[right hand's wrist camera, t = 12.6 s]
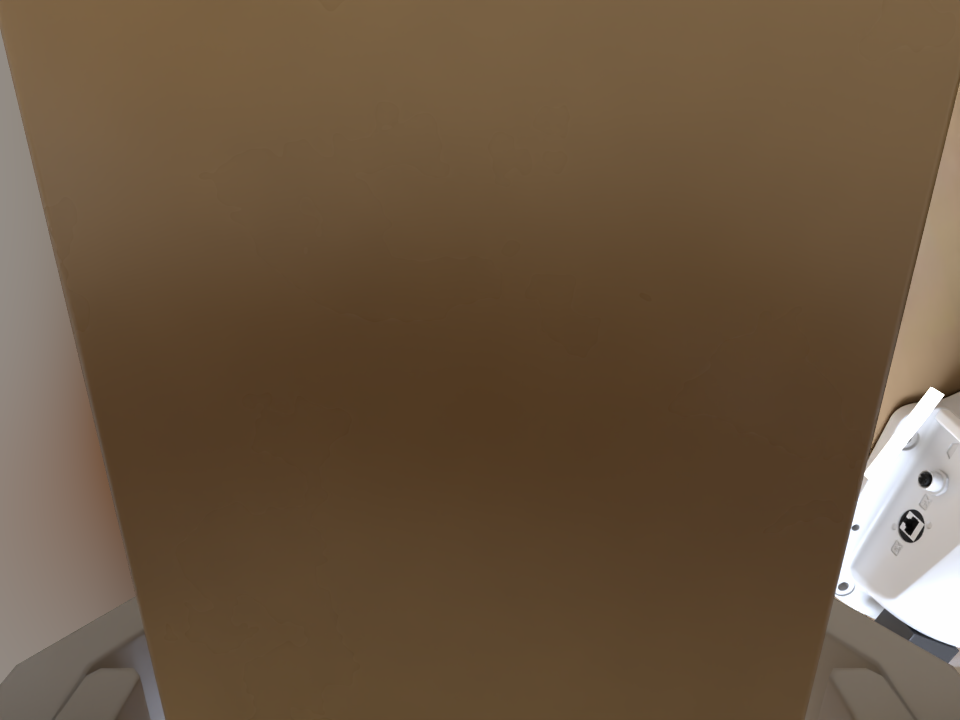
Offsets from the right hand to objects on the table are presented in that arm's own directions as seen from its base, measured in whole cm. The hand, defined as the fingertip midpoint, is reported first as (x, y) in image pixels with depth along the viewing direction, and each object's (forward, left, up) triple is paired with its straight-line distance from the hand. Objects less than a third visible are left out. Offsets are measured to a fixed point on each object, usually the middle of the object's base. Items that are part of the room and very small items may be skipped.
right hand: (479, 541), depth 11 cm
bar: (+8, +4, -3) cm, 9 cm away
